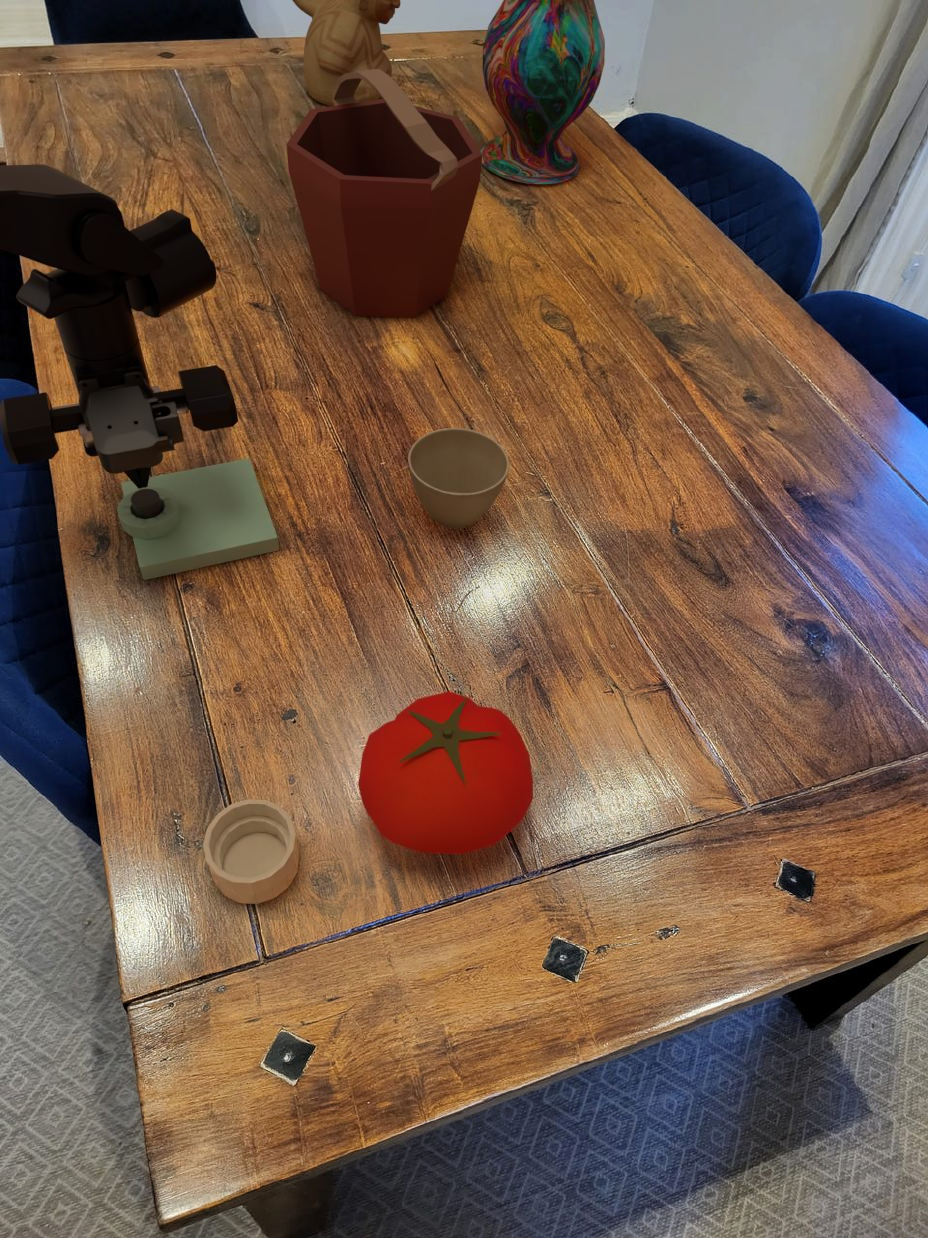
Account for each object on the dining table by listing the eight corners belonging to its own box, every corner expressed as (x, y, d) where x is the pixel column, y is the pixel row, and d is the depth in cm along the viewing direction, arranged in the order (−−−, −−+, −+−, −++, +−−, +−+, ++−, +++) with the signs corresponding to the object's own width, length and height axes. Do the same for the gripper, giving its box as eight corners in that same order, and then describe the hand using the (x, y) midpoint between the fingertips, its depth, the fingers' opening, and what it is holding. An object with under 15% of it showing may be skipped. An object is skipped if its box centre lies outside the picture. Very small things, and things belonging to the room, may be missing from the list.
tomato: (508, 731, 75) (523, 659, 67) (537, 868, 68) (559, 806, 60) (352, 746, 73) (349, 674, 65) (365, 889, 66) (363, 827, 58)
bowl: (223, 918, 64) (213, 895, 60) (205, 840, 67) (195, 814, 64) (309, 889, 65) (305, 865, 62) (287, 815, 69) (282, 788, 66)
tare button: (136, 521, 83) (132, 509, 82) (132, 503, 84) (128, 491, 83) (164, 516, 84) (161, 504, 83) (159, 497, 85) (156, 486, 84)
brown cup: (516, 534, 90) (525, 482, 85) (425, 555, 87) (428, 503, 82) (480, 471, 96) (486, 418, 90) (393, 489, 93) (394, 436, 87)
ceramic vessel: (385, 123, 148) (386, -57, 129) (275, 103, 150) (259, -78, 131) (411, 86, 159) (416, -86, 139) (309, 68, 161) (299, -105, 141)
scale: (135, 582, 82) (127, 557, 80) (117, 497, 89) (109, 471, 86) (279, 550, 86) (276, 525, 84) (251, 471, 93) (247, 445, 90)
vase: (586, 145, 149) (624, -73, 126) (584, 196, 138) (626, -34, 114) (479, 132, 149) (498, -89, 126) (468, 181, 138) (486, -51, 114)
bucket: (486, 329, 113) (508, 123, 93) (315, 347, 108) (301, 132, 88) (436, 233, 127) (446, 36, 107) (283, 244, 122) (265, 40, 102)
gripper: (-21, 423, 62) (44, 569, 75) (240, 380, 68) (261, 523, 80) (-29, 335, 69) (32, 483, 81) (211, 302, 74) (235, 445, 86)
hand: (142, 485), depth 82 cm, fingers closed
